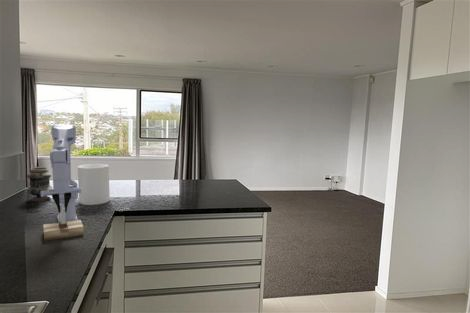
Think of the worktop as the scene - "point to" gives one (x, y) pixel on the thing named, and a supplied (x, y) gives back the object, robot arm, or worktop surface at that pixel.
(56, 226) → the slotted tan block
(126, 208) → the white patterned panel
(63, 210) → the silver rectangular block
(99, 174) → the canister
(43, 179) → the apothecary jar
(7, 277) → the worktop surface
